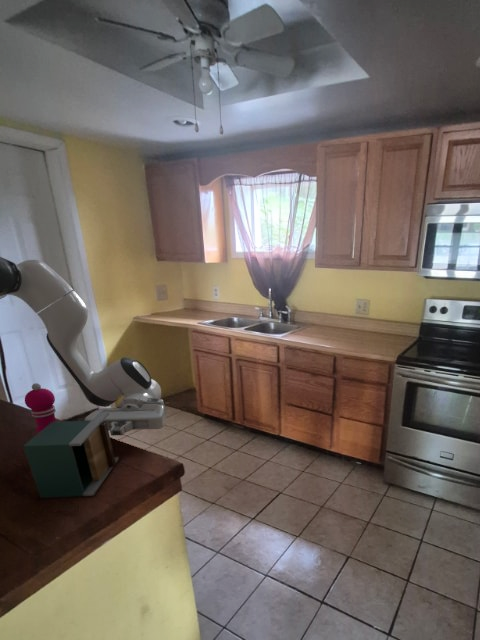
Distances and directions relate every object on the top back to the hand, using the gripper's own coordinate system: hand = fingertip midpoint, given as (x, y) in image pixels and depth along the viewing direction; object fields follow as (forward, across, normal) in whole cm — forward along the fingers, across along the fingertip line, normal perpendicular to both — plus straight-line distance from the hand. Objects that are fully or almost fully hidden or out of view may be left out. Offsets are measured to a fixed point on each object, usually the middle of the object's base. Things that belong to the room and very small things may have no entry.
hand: (116, 433), depth 94 cm
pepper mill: (0, -16, +6) cm, 17 cm away
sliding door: (+10, 0, +5) cm, 11 cm away
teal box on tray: (+10, -5, +6) cm, 13 cm away
